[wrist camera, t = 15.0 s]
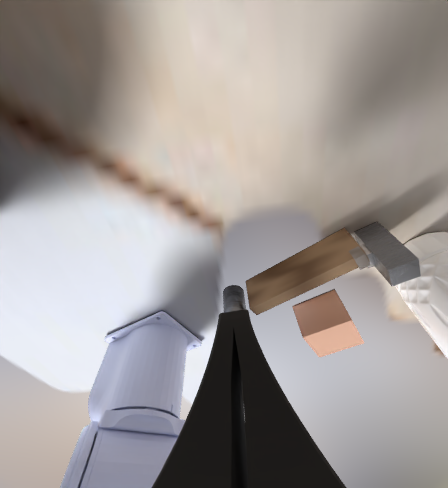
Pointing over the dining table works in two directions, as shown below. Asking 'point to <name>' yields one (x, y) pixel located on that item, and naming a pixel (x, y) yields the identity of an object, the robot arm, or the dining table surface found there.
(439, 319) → the white cup
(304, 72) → the dining table surface
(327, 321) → the block
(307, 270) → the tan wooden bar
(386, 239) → the grey blocks
